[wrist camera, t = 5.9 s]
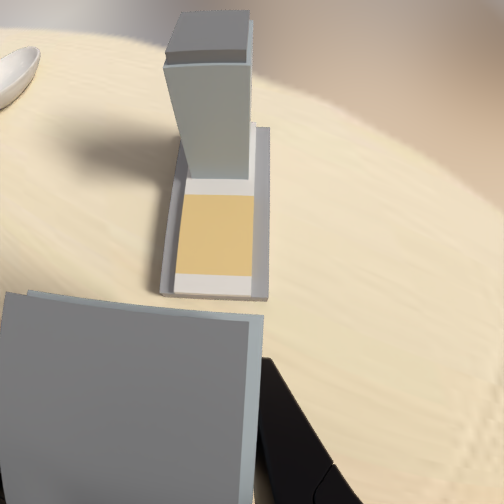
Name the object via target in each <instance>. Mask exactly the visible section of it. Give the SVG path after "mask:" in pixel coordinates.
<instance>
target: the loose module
mask: <svg viewBox="0 0 504 504" xmlns="http://www.w3.org/2000/svg"><path fill="white" fill-rule="evenodd" d="M263 322H264V315H252V314H236V313H222V312H208V311H196V310H184V309H173V308H163V307H153V306H143V305H134V304H125V303H117V302H109V301H101V300H93V299H86V298H78V297H71V296H64V295H58V294H51V293H45V292H38V291H32V290H28V293H27V296H26V295H21V294H16V293H10V292H6V295H5V301H4V307H3V314H2V321H1V329H0V468H1V475H2V482H3V488H4V494H5V500H6V504H252V499H253V485H254V471H255V457H256V442H257V426H258V410H259V394H260V377H261V359H262V341H263Z"/></svg>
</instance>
